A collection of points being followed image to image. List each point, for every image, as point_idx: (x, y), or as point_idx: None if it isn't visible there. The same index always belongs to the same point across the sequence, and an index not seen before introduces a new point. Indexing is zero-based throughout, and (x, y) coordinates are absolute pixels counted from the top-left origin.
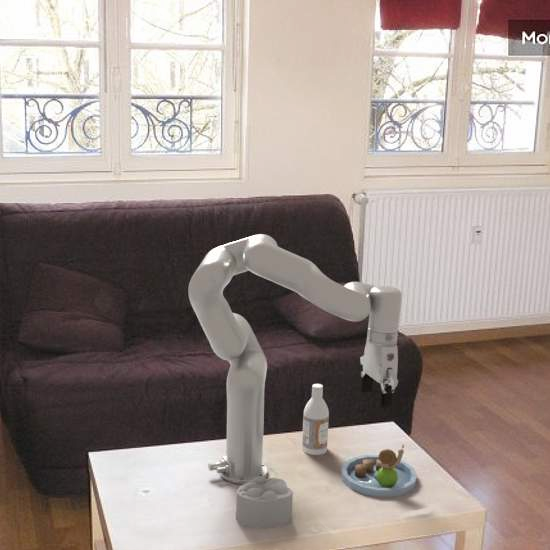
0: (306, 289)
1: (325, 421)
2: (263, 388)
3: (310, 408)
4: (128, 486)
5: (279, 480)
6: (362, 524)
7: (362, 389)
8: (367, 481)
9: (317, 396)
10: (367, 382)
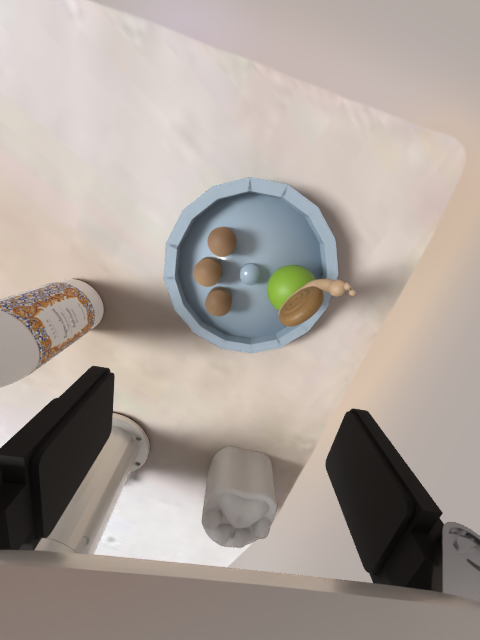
0: None
1: (43, 333)
2: None
3: None
4: None
5: (236, 509)
6: (342, 389)
7: (100, 448)
8: (248, 303)
9: None
10: (70, 468)
